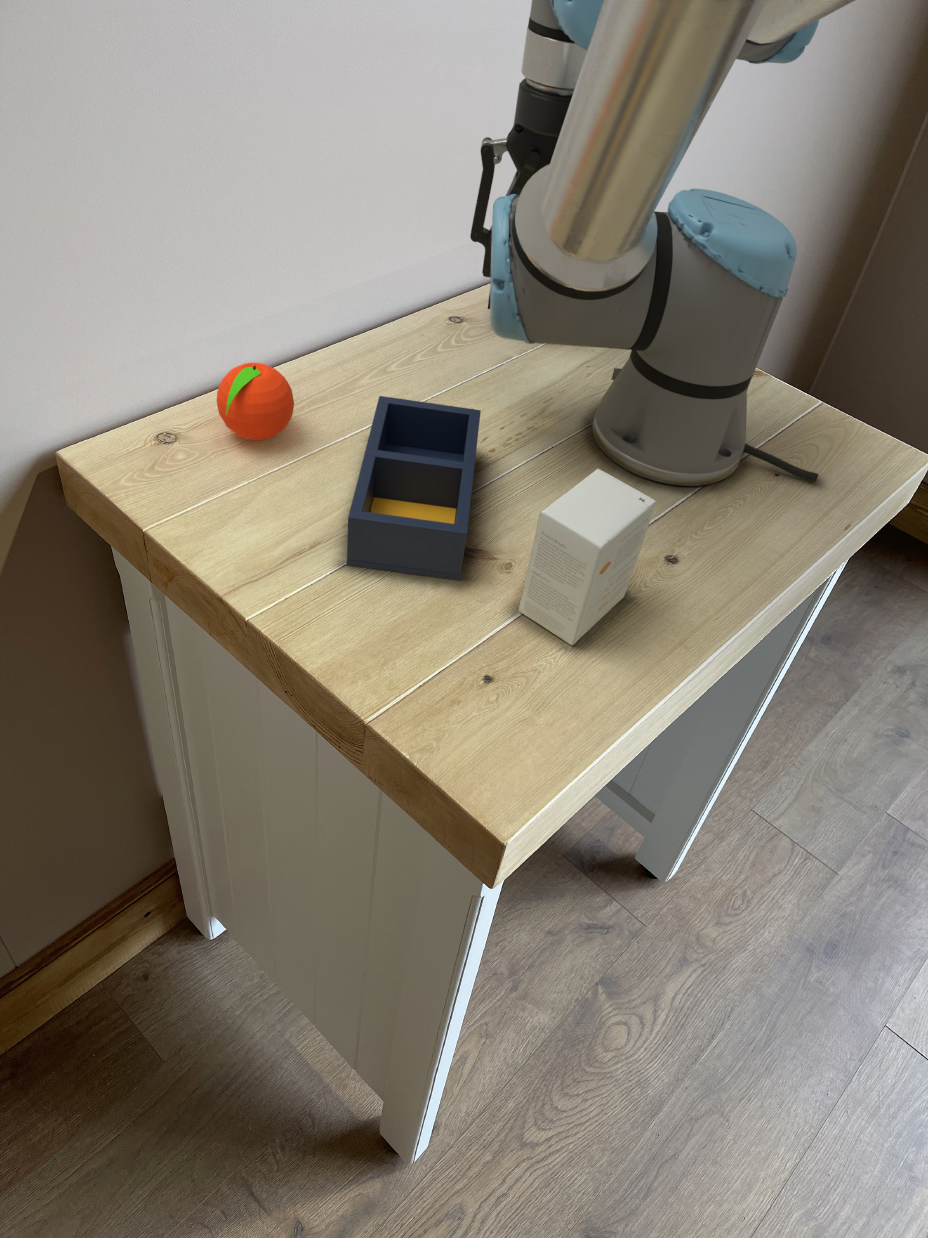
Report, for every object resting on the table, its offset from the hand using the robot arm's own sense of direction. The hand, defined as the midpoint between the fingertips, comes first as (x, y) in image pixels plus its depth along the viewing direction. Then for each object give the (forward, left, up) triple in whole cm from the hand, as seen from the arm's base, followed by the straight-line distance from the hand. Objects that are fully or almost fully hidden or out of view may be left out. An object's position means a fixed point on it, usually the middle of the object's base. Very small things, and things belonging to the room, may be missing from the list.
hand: (520, 307), depth 105 cm
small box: (-6, +46, -3) cm, 46 cm away
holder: (+8, +36, -2) cm, 36 cm away
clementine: (+24, +29, -3) cm, 37 cm away
